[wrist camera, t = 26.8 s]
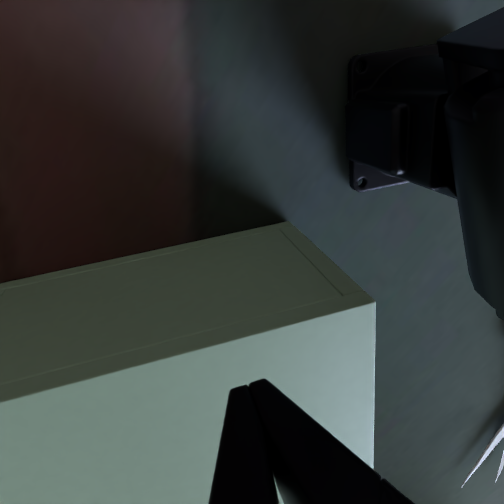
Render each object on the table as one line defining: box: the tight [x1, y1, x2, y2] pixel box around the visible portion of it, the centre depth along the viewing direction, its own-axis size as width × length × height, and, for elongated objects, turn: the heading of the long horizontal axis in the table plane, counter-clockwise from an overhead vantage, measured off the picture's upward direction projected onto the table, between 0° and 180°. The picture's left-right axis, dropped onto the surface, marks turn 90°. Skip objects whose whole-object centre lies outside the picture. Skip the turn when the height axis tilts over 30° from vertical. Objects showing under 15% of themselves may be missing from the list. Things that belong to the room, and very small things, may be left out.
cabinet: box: [0, 221, 376, 504], centre depth 19 cm, size 15×15×9 cm
